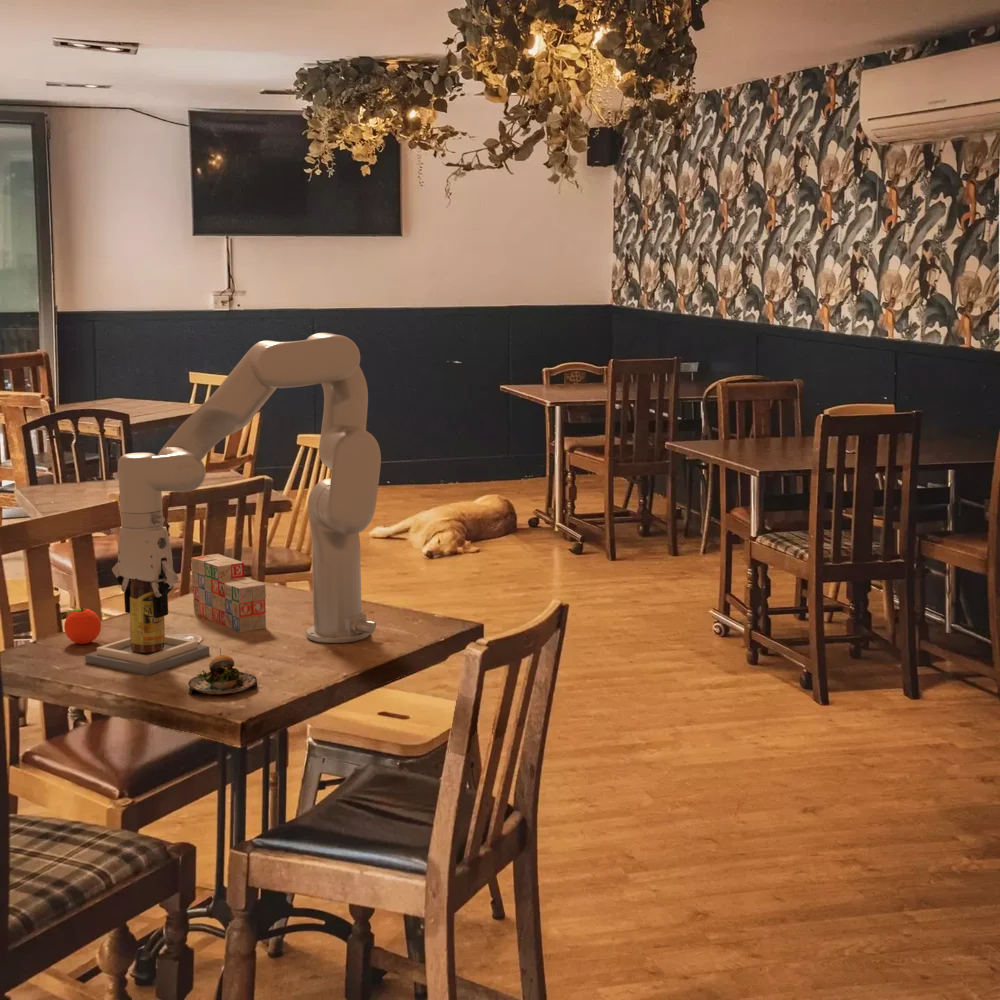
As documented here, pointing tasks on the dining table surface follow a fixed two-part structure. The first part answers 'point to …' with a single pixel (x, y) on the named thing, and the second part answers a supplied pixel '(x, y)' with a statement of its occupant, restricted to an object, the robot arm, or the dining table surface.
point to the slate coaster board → (147, 655)
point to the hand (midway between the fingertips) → (146, 613)
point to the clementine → (82, 626)
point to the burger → (222, 678)
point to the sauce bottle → (144, 619)
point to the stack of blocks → (227, 593)
